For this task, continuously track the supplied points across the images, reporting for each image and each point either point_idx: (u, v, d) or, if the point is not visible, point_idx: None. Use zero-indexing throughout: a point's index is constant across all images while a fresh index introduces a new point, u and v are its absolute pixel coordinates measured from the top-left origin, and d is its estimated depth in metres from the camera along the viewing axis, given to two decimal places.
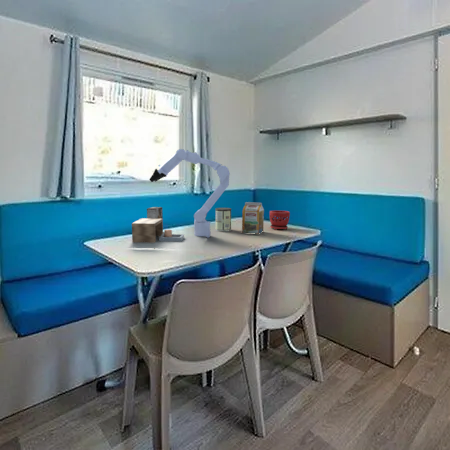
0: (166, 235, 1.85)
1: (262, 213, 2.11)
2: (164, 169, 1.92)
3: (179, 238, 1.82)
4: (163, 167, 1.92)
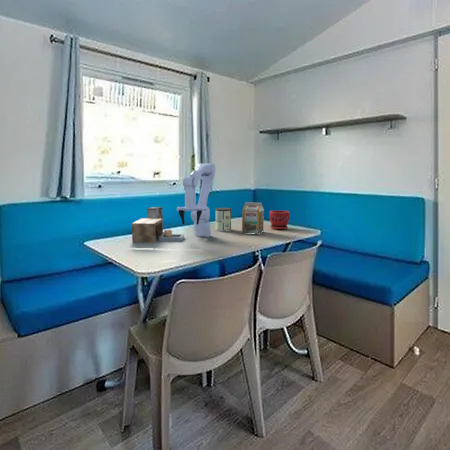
0: (166, 235, 1.85)
1: (262, 213, 2.11)
2: (195, 205, 1.83)
3: (179, 238, 1.82)
4: (195, 205, 1.82)
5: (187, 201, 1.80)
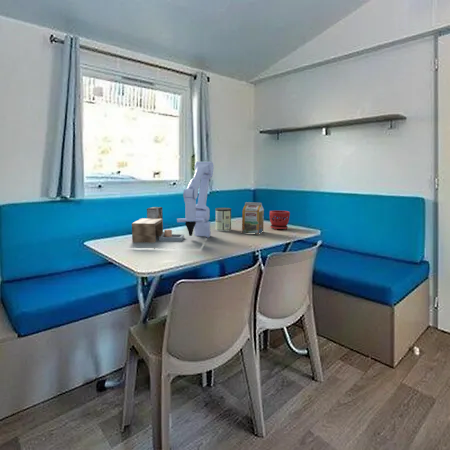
0: (166, 235, 1.85)
1: (262, 213, 2.11)
2: (195, 217, 1.84)
3: (179, 238, 1.82)
4: (195, 216, 1.83)
5: (187, 212, 1.81)
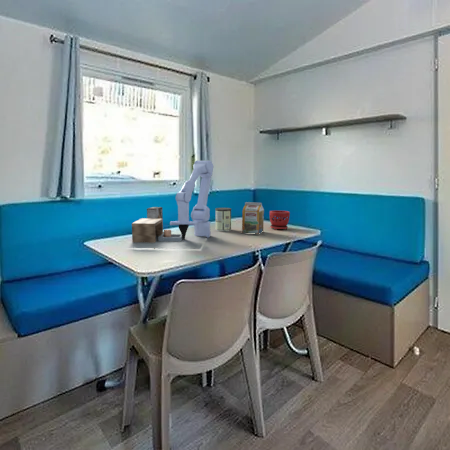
0: (165, 235, 1.85)
1: (262, 213, 2.11)
2: (188, 220, 1.85)
3: (178, 238, 1.82)
4: (188, 219, 1.83)
5: (180, 216, 1.82)
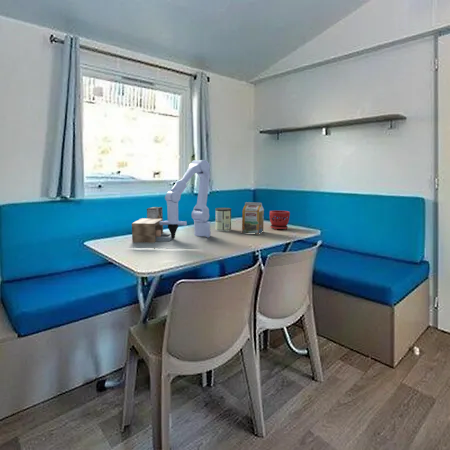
0: None
1: (262, 213, 2.11)
2: None
3: (168, 238, 1.82)
4: (177, 219, 1.84)
5: (169, 215, 1.82)
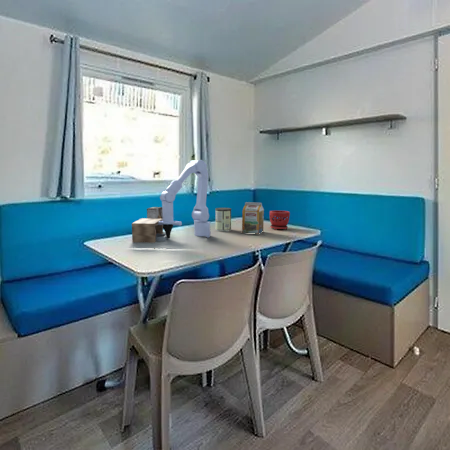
0: None
1: (262, 213, 2.11)
2: None
3: (163, 238, 1.82)
4: (172, 219, 1.84)
5: (164, 215, 1.82)
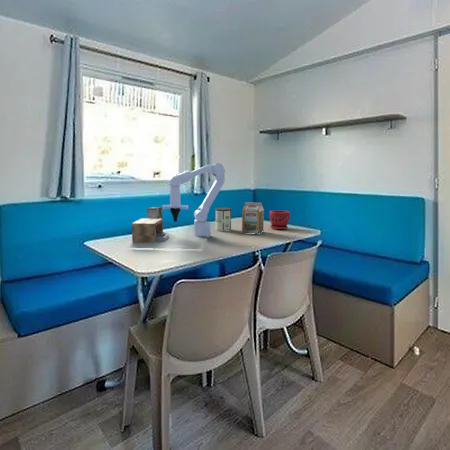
0: None
1: (262, 213, 2.11)
2: None
3: (162, 238, 1.82)
4: (179, 203, 1.92)
5: (172, 199, 1.90)
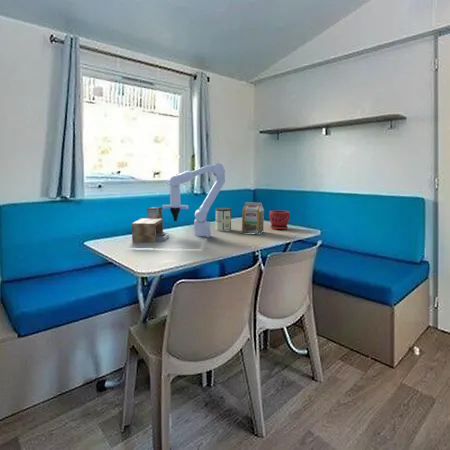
0: None
1: (262, 213, 2.11)
2: None
3: (162, 238, 1.82)
4: (179, 203, 1.93)
5: (172, 199, 1.92)
